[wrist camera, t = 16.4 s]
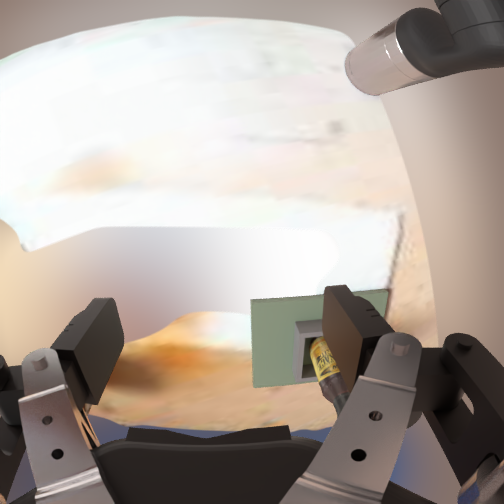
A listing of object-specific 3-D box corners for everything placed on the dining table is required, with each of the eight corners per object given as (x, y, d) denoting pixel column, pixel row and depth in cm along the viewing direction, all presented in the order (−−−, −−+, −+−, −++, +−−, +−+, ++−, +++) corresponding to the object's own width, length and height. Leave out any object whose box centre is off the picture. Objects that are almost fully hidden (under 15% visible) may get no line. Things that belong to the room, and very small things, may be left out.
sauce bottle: (336, 325, 54) (377, 398, 36) (339, 350, 56) (376, 422, 38) (303, 335, 55) (332, 413, 36) (308, 359, 57) (335, 436, 38)
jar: (395, 397, 66) (414, 428, 54) (368, 402, 65) (385, 436, 54) (406, 371, 63) (428, 403, 52) (378, 376, 62) (399, 410, 51)
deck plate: (385, 288, 55) (398, 301, 49) (368, 368, 61) (378, 384, 56) (250, 299, 53) (253, 315, 48) (253, 383, 59) (255, 401, 54)
